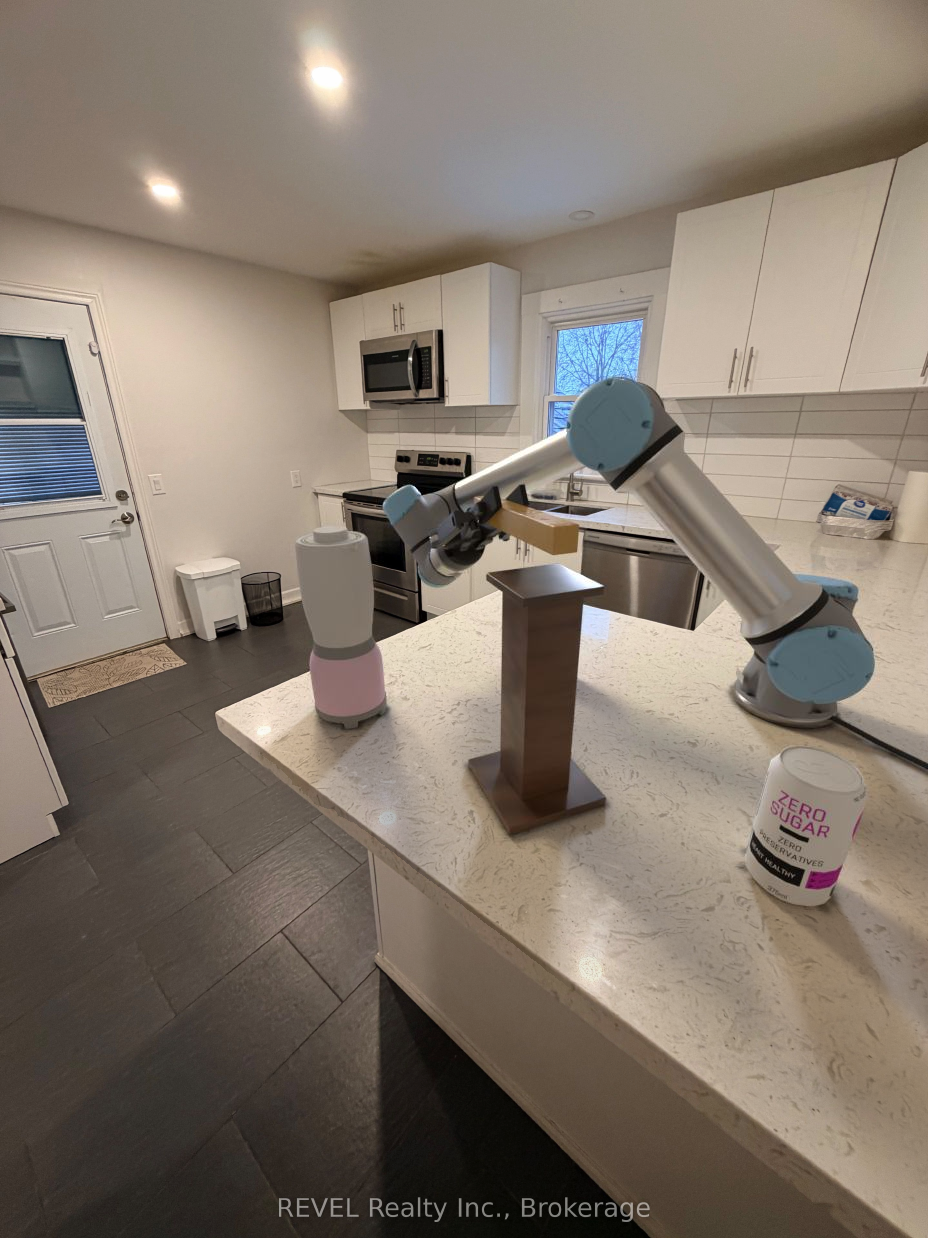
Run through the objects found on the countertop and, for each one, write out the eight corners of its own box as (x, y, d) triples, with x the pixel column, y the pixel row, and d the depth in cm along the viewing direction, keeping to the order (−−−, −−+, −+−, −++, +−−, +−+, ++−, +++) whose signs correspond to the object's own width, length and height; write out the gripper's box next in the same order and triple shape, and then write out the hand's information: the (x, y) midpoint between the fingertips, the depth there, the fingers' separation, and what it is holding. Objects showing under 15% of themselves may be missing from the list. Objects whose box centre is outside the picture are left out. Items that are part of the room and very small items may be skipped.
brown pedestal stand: (468, 765, 73) (464, 570, 61) (551, 743, 77) (563, 557, 66) (509, 835, 61) (514, 607, 49) (605, 804, 65) (631, 589, 53)
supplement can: (816, 856, 57) (854, 750, 51) (841, 921, 50) (887, 805, 44) (738, 839, 59) (765, 735, 54) (750, 898, 52) (783, 785, 46)
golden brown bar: (474, 518, 70) (473, 496, 69) (493, 516, 71) (493, 495, 70) (552, 555, 51) (554, 526, 50) (577, 552, 52) (579, 524, 51)
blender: (401, 709, 87) (387, 528, 75) (341, 739, 79) (314, 543, 67) (352, 678, 97) (333, 515, 85) (294, 702, 90) (264, 526, 77)
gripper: (504, 565, 86) (572, 518, 64) (415, 576, 81) (456, 530, 59) (496, 523, 87) (560, 463, 65) (407, 532, 82) (444, 470, 60)
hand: (510, 495), depth 62 cm, fingers closed on golden brown bar, 3 cm apart
